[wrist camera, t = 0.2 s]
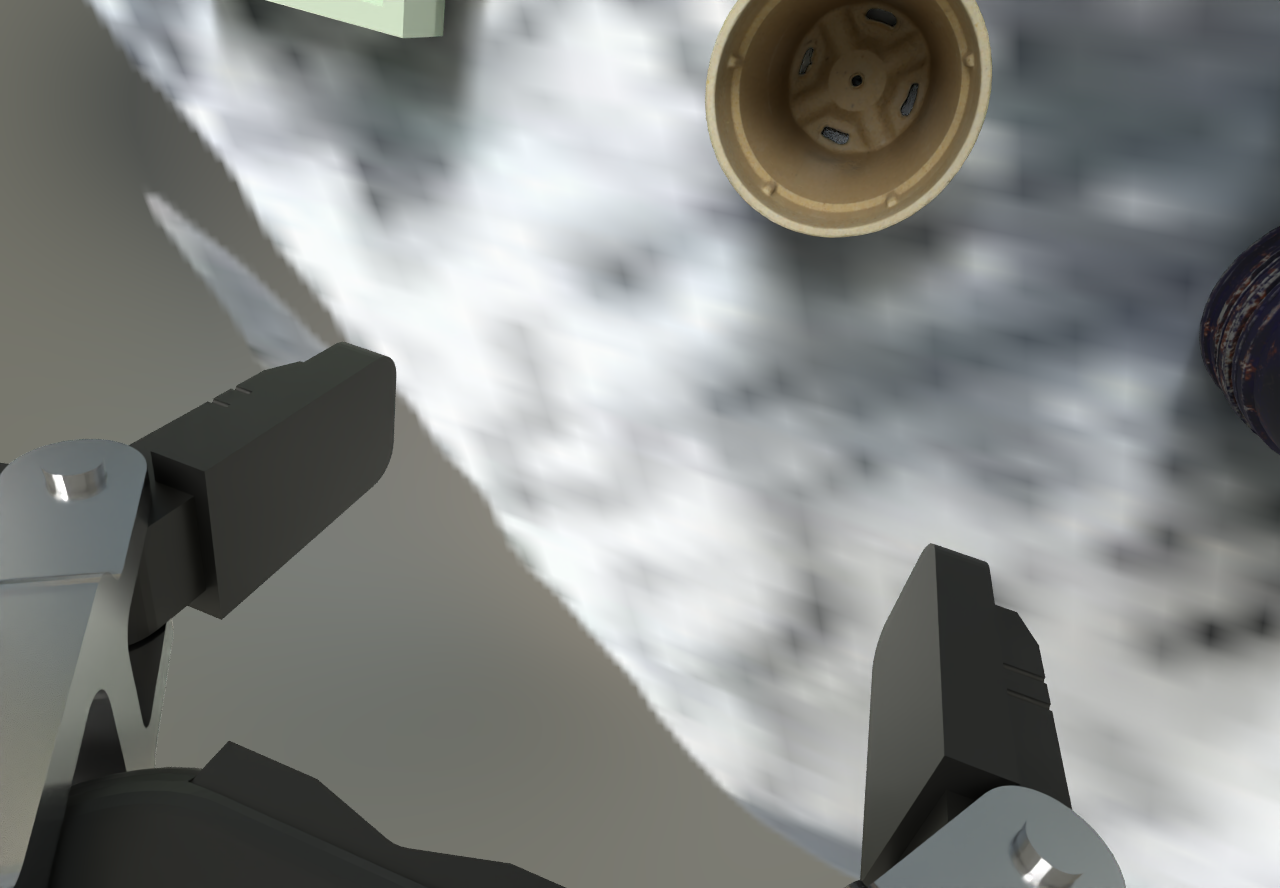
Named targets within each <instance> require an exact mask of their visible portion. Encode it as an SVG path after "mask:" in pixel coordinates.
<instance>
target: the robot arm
mask: <svg viewBox="0 0 1280 888" xmlns="http://www.w3.org/2000/svg"><path fill="white" fill-rule="evenodd" d="M395 394H396V367H395V364H394V362H393V360H392V359H391V358H390V357H387V356H384V355H381V354H378V353H376V352H373V351H370V350H367V349H364V348H361V347H358V346H355V345H352V344H349V343H346V342H340V343H337V344H335V345H333V346H331V347H330V348H328V349H326V350H324V351H323V352H321V353H319V354H317V355H316V356H314V357H312V358H311V359H309V360H307V361H305V362H301V361H299V362H296V363H292V364H288V365H284V366H280V367H276V368H272V369H268V370H264V371H262V372H260V373H259V374H257V375H255V376H253V377H251V378H250V379H248V380H246V381H244V382H242V383H241V384H239V385H237V386H236V389H235V390H233V389H230V390H228V391H226V392H224V393H223V394H221V395H219V396H217V397H215V398H214V400H213V402H212V403H210V402H206V403H204V404H203V405H201V406H199V407H197V408H195V409H194V410H192V411H190V412H188V413H187V414H185V415H183V416H181V417H180V418H177V419H176V420H174V421H172V422H170V423H168V424H166V425H165V426H163V427H161V428H159V429H158V430H156V431H154V432H152V433H150V434H148V435H147V436H145V437H143V438H141V439H139V440H138V441H136V442H134V443H132V444H131V445H125V444H123V443H119V442H115V441H110V440H101V439H79V440H70V441H63V442H58V443H54V444H50V445H47V446H43V447H40V448H37V449H35V450H32V451H30V452H28V453H26V454H24V455H22V456H20V457H18V458H17V459H15V460H14V461H13V462H11V463H10V464H4V463H0V888H565V887H563V886H561V885H558V884H556V883H554V882H551V881H549V880H547V879H544V878H542V877H540V876H538V875H536V874H533V873H531V872H529V871H526V870H524V869H522V868H519V867H517V866H515V865H513V864H510V863H503V862H496V861H490V860H483V859H476V858H469V857H463V856H455V855H449V854H442V853H436V852H430V851H423V850H416V849H409V848H405V847H401V846H398V845H396V844H393V843H392V842H391V841H389V840H388V839H386V838H385V837H384V836H383V835H382V834H381V833H379V832H378V831H377V830H376V829H375V828H374V827H373V826H371V825H370V824H369V823H368V822H367V821H365V820H364V819H363V818H362V817H361V816H360V815H358V814H357V813H356V812H355V811H354V810H353V809H351V808H350V807H349V806H348V805H347V804H346V803H344V802H343V801H342V800H341V799H340V798H338V797H337V796H336V795H335V794H334V793H333V792H331V791H330V790H329V789H328V788H327V787H326V786H324V785H323V784H322V783H321V782H319V780H317V779H315V778H313V777H311V776H309V775H306V774H304V773H302V772H300V771H297V770H295V769H293V768H290V767H288V766H286V765H283V764H281V763H279V762H277V761H274V760H272V759H270V758H267V757H265V756H263V755H261V754H258V753H256V752H254V751H251V750H249V749H247V748H244V747H242V746H240V745H238V744H235V743H233V742H231V741H228V742H227V744H225V745H224V747H223V748H222V749H221V750H220V751H219V752H218V753H217V754H216V755H215V756H214V757H213V758H212V759H211V760H210V762H209V763H208V764H207V765H206V766H205V767H204V768H203V769H199V768H182V767H164V768H155V758H156V747H157V740H158V733H159V727H160V720H161V714H162V707H163V701H164V694H165V688H166V680H167V675H168V668H169V661H170V655H171V648H172V642H173V634H174V633H173V632H174V631H173V630H174V629H173V623H172V618H173V617H174V616H175V615H176V614H177V613H179V612H180V611H181V610H182V609H183V608H185V607H186V606H190V607H192V608H195V609H197V610H200V611H202V612H204V613H207V614H209V615H212V616H214V617H216V618H219V619H221V620H222V619H223V618H224V617H225V616H226V615H227V614H228V613H230V612H231V611H232V610H233V609H234V608H236V607H237V606H238V605H239V604H240V603H241V602H242V601H243V600H245V599H246V598H247V597H248V596H249V595H250V594H251V593H252V592H254V591H255V590H256V589H257V588H258V587H259V586H260V585H262V584H263V583H264V582H265V581H266V580H267V579H268V578H270V577H271V576H272V575H273V574H274V573H275V572H276V571H277V570H279V569H280V568H281V567H282V566H283V565H284V564H285V563H287V562H288V561H289V560H290V559H291V558H292V557H293V556H294V555H296V554H297V553H298V552H299V551H300V550H301V549H302V548H304V547H305V546H306V545H307V544H308V543H309V542H310V541H311V540H313V539H314V538H315V537H316V536H317V535H318V534H319V533H320V532H322V531H323V530H324V529H325V528H326V527H327V526H328V525H330V524H331V523H332V522H333V521H334V520H335V519H336V518H338V517H339V516H340V515H341V514H342V513H343V512H344V511H345V510H347V509H348V508H349V507H350V506H351V505H352V504H353V503H355V502H356V501H357V500H358V499H359V498H360V497H361V496H362V495H364V494H365V493H366V492H367V491H368V490H369V489H370V488H371V487H373V486H374V485H375V484H376V483H377V482H378V480H379V479H380V478H381V477H382V475H383V474H384V472H385V470H386V468H387V466H388V464H389V461H390V458H391V455H392V450H393V443H394V418H395V417H394V416H395ZM1044 679H1045V674H1044V669H1043V664H1042V659H1041V654H1040V649H1039V645H1038V644H1037V642H1036V641H1035V639H1034V637H1033V636H1032V634H1031V633H1030V631H1029V630H1028V628H1027V627H1026V625H1025V624H1024V622H1023V621H1022V619H1021V618H1020V616H1019V615H1018V613H1017V612H1014V611H1012V610H1009V609H1006V608H1003V607H1000V606H997V605H995V603H994V596H993V589H992V582H991V575H990V568H989V565H988V563H987V562H985V561H982V560H979V559H976V558H973V557H970V556H967V555H964V554H961V553H958V552H955V551H952V550H950V549H947V548H944V547H941V546H938V545H935V544H929V545H928V546H926V548H925V549H924V550H923V552H922V554H921V555H920V557H919V559H918V561H917V563H916V565H915V567H914V569H913V571H912V573H911V575H910V577H909V578H908V580H907V582H906V584H905V586H904V588H903V590H902V592H901V594H900V596H899V598H898V600H897V602H896V604H895V606H894V608H893V610H892V612H891V613H890V615H889V617H888V619H887V621H886V623H885V625H884V628H883V630H882V633H881V635H880V638H879V641H878V644H877V648H876V652H875V656H874V661H873V669H872V685H871V702H870V720H869V737H868V754H867V772H866V789H865V806H864V824H863V841H862V858H861V876H860V880H858V881H855V882H853V883H851V884H849V885H848V886H846V887H845V888H1126V886H1125V881H1124V878H1123V875H1122V872H1121V870H1120V867H1119V865H1118V863H1117V862H1116V860H1115V858H1114V856H1113V854H1112V853H1111V851H1110V850H1109V848H1108V847H1107V845H1106V844H1105V842H1104V841H1103V840H1102V839H1101V838H1100V836H1099V835H1098V834H1097V833H1096V832H1095V830H1094V829H1093V828H1092V827H1091V826H1090V825H1088V824H1087V823H1086V822H1085V821H1084V820H1083V819H1082V818H1081V817H1080V816H1079V815H1077V814H1076V813H1075V812H1074V811H1072V807H1071V802H1070V797H1069V792H1068V787H1067V782H1066V777H1065V772H1064V767H1063V762H1062V758H1061V753H1060V748H1059V743H1058V738H1057V733H1056V728H1055V723H1054V718H1053V713H1052V711H1050V710H1049V707H1050V705H1051V703H1050V698H1049V693H1048V689H1047V684H1045V683H1044Z"/></svg>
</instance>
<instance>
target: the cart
mask: <svg viewBox="0 0 1280 888" xmlns="http://www.w3.org/2000/svg"><path fill="white" fill-rule="evenodd" d="M267 1H270V2H274V3H277V4H281V5H285V6H288V7H292V8H296V9H299V10H303V11H306V12H310V13H314V14H317V15H321V16H324V17H328V18H332V19H335V20H339V21H343V22H346V23H350V24H353V25H357V26H361V27H364V28H368V29H371V30H375V31H379V32H382V33H386V34H390V35H393V36H397V37H400V38H416V37H437V36H443V27H444V11H445V0H267Z"/></svg>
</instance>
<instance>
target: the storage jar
mask: <svg viewBox="0 0 1280 888" xmlns="http://www.w3.org/2000/svg"><path fill="white" fill-rule="evenodd" d="M1200 347H1201V354H1202V358H1203V361H1204V363H1205V366H1206V369H1207V371H1208V372H1209V374H1210V376H1211V377H1212V379H1213V380H1214V382H1215V383H1216V385H1217V386H1218V387H1219V388H1220V389H1221V390H1222V391H1223V394H1224V396H1225V397H1226V399H1227V401H1228V402H1229V404H1230V405H1231V407H1232V409H1233V410H1234V411H1235V412H1236V413H1237V415H1238V416H1239V417H1240V418H1241V420H1242V421H1243V422H1244V423H1245V424H1246V425H1247V426H1248V427H1249V428H1250V429H1251V430H1252V431H1253V432H1254V433H1256V434H1257V435H1258V436H1260V438H1261V439H1262V440H1263V441H1264V442H1265V443H1266V444H1267V445H1268V446H1269V447H1270V448H1271V449H1272V450H1274V451H1275V452H1276V453H1278V454H1279V455H1280V226H1279V227H1277V228H1275V229H1274V230H1272V231H1271V232H1269V233H1268V234H1266V235H1265V236H1263V237H1262V238H1260V239H1259V240H1258V241H1256V242H1255V243H1253V244H1252V245H1251V246H1250V247H1249V248H1248V249H1247V250H1245V251H1244V252H1243V253H1242V254H1241V255H1240V256H1239V257H1238V258H1237V259H1236V260H1235V261H1234V262H1233V263H1232V264H1231V265H1230V267H1229V268H1228V269H1227V270H1226V271H1225V272H1224V273H1223V275H1222V276H1221V278H1220V280H1219V281H1218V283H1217V284H1216V286H1215V287H1214V289H1213V290H1212V292H1211V295H1210V297H1209V299H1208V301H1207V304H1206V306H1205V309H1204V312H1203V316H1202V320H1201V325H1200Z"/></svg>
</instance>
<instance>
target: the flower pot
mask: <svg viewBox="0 0 1280 888" xmlns="http://www.w3.org/2000/svg"><path fill="white" fill-rule="evenodd" d="M870 9H882V10H884V11H888V12H890V13H892V14H893V15H894V16H895V17H896V21H897V22H896V24H895V25H894V26H890V25H888V24H885V23H882V22H879V21H876V20H872V19H868V18H867V12H868V10H870ZM810 48H813V50H814V51H813V53H812V56H811V59H810V61H811V62H812V64H811V65H810V64H809V66H808V67H807V69H806V71H805V74H803V75H802V74H799V71H800V67H801V64H802V61H803V58H804V55H805V53H806V52H807V51H808V50H809V49H810ZM856 75H860V76H861V78H862V83H861V84H860V85H858V86H853V84H852V78H854V77H855V76H856ZM991 81H992V58H991V48H990V43H989V37H988V32H987V29H986V25H985V22H984V19H983V17H982V14H981V12H980V9H979V7H978V5H977V3H976V1H975V0H738V1H737V2H736V4H735V5H734V6H733V8H732V10H731V11H730V13H729V15H728V16H727V18H726V20H725V22H724V24H723V26H722V28H721V30H720V32H719V34H718V37H717V39H716V42H715V46H714V48H713V52H712V55H711V59H710V65H709V69H708V76H707V81H706V96H705V108H706V120H707V126H708V131H709V135H710V139H711V143H712V146H713V149H714V151H715V154H716V157H717V160H718V162H719V164H720V166H721V168H722V170H723V171H724V173H725V175H726V176H727V178H728V180H729V182H730V183H731V184H732V186H733V187H734V188H735V190H736V191H737V192H738V193H739V194H740V196H741V197H742V198H743V199H744V200H745V201H746V202H747V203H748V204H749V205H750V206H751V207H753V208H754V209H755V210H756V211H757V212H759V213H760V214H762V215H763V216H765V217H766V218H768V219H769V220H770V221H772V222H774V223H777V224H778V225H781V226H782V227H785V228H787V229H790V230H792V231H795V232H799V233H803V234H807V235H811V236H818V237H828V238H836V237H849V236H859V235H864V234H869V233H871V232H877V231H880V230H882V229H885V228H888V227H889V226H892V225H894V224H897V223H898V222H901V221H903V220H904V219H906V218H908V217H910V216H912V215H913V214H915V213H916V212H918V211H919V210H920V209H922V208H923V207H924V206H926V205H927V204H928V203H929V202H931V201H932V200H933V199H934V198H936V197H937V196H938V195H939V194H940V193H941V192H942V190H943V189H944V188H945V187H946V186H947V185H948V184H949V183H950V181H951V180H952V179H953V177H954V176H955V175H956V174H957V173H958V171H959V170H960V168H961V167H962V165H963V163H964V161H965V160H966V159H967V157H968V155H969V154H970V152H971V150H972V148H973V146H974V144H975V142H976V140H977V137H978V135H979V133H980V131H981V128H982V125H983V122H984V119H985V116H986V113H987V109H988V104H989V99H990V93H991ZM913 84H918V88H917V96H916V99H915V102H914V105H913V108H912V110H911V112H910V113H909V115H902V113H901V107H902V105H903V103H904V102H905V101H906V99H907V97H908V94H909V91H910V88H911V86H912V85H913ZM824 127H830V128H832V129H835V130H837V131H839V132H842V133H845V134H846V133H848V135H849V137H848V141H847V142H846V143H845V144H838V143H836V142H834V141H832V140H831V139H830V138H826V137H825V136H824V135H823V134H822V131H823V129H824Z"/></svg>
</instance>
